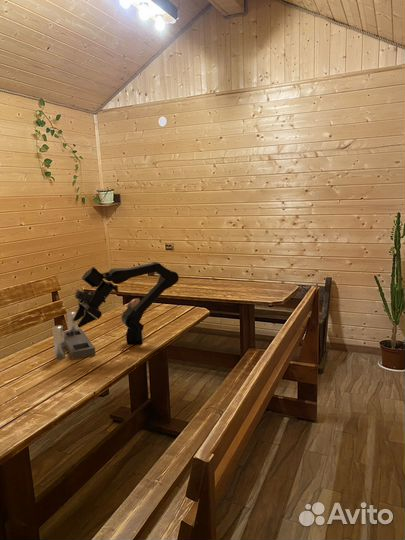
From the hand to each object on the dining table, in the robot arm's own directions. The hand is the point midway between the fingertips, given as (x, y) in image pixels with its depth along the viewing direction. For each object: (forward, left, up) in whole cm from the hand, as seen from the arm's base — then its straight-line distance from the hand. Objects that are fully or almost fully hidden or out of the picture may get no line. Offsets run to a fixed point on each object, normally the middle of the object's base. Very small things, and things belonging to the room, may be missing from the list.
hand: (76, 323), depth 161 cm
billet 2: (+7, -17, -13) cm, 22 cm away
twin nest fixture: (+3, -9, -13) cm, 16 cm away
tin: (-17, -52, -13) cm, 57 cm away
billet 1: (+7, +3, -13) cm, 15 cm away
